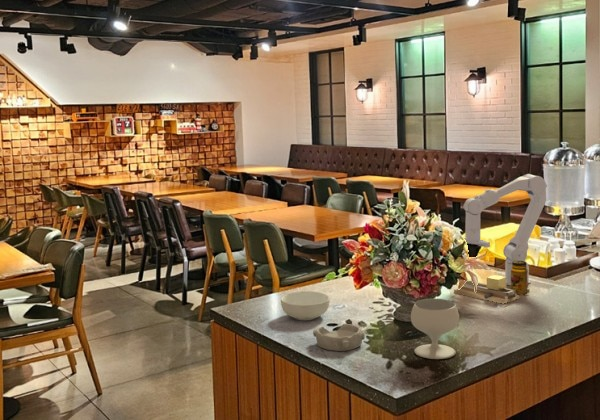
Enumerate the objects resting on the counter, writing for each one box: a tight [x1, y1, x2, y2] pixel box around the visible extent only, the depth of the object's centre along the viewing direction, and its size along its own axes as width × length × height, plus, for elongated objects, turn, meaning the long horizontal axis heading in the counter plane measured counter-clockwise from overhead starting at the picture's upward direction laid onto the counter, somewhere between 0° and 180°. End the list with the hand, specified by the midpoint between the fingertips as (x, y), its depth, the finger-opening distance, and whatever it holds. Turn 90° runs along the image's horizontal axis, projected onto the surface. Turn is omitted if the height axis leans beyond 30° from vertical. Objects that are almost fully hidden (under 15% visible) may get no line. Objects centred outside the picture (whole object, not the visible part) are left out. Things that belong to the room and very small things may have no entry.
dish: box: [312, 323, 366, 352], centre depth 218 cm, size 14×14×5 cm
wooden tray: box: [453, 279, 520, 305], centre depth 267 cm, size 12×22×4 cm, turn 40°
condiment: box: [510, 260, 531, 296], centre depth 270 cm, size 7×8×12 cm
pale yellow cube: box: [486, 274, 507, 291], centre depth 263 cm, size 5×5×5 cm
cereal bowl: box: [280, 290, 330, 321], centre depth 247 cm, size 17×17×7 cm
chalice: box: [410, 298, 460, 360], centre depth 208 cm, size 14×14×15 cm
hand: (472, 262), depth 280 cm, fingers closed
